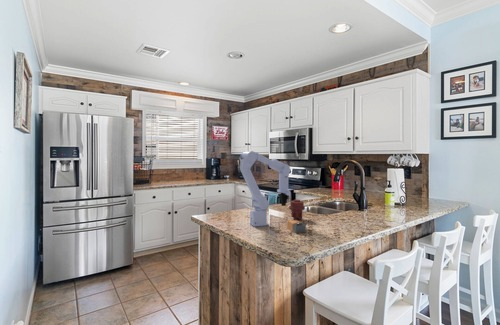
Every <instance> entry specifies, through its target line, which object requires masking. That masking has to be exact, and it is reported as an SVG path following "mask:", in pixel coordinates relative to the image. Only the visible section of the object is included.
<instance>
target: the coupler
mask: <svg viewBox="0 0 500 325" xmlns="http://www.w3.org/2000/svg"><path fill="white" fill-rule="evenodd" d="M301 222H302V221H300V222H297V223H296V224H293V231H292V232H293V233H295V234H302V233H306V232H307V230H306V229H307V225H306V224H305V223H304V222H302V223H301Z"/></svg>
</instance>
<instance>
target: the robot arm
mask: <svg viewBox="0 0 500 325" xmlns="http://www.w3.org/2000/svg"><path fill="white" fill-rule="evenodd" d="M238 159H239V161H240V163H239V170H240V172H241V174H242V177H243V179H244V181H245V183H246V185H247V187H248V190H249V191H250V194H251V200H252V206H253V207H254V208H253V209H252V210H251V209H250V213H249V224H250V225H251V226H253V227H254V228H255V227H266V226H270V224H269V223H268V222H267V221H268V220H267V219H268V217H267V215H268V213H267V212H268V208H269V207H270V206H269V205H270V202H269V200H268V199H267V198H266V197H265V195H263V193H261V190H260V188H259V186H258V183H257V182H256V179H255V177H254V174H253V173H252V170H251V168H252V166H254V164H255V162H261V163H263V164H265V165H267V166H268V167H269V168H270V169H272V170H274V171H276V172H278V180H279V181H278V189H276V192H277V193H278V197H279V200H280V205H281V206H283V207H284V206H287V202H288V199H289V197H290V196H291V194H292V192H291V190H289V175H290V172H291V167H290V165H289V164H287V163H284V162H283V161H279V160H278V159H277V158H272V159H270V158H268V157H266V156H264V155H262V154H260V153H258V152H255V151H253V150H252V151H245V150H244V151H243V152H242V153H240V156H239V158H238Z"/></svg>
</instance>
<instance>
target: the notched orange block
mask: <svg viewBox="0 0 500 325" xmlns="http://www.w3.org/2000/svg"><path fill="white" fill-rule="evenodd" d="M286 222H287V224H286V225H287V226H286V227H287V230H290V231H291V232H293V224H296V223H297V222H301V223H303V222H302V221H300V220H294V219H292V220H287V221H286Z"/></svg>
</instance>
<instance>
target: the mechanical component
mask: <svg viewBox="0 0 500 325" xmlns="http://www.w3.org/2000/svg"><path fill="white" fill-rule="evenodd" d="M289 202H290V205H289V206H288V209H289V210H291V214H290V217H292V218H293V220H298V221H300V220H303V211H304V210H306V206H305V205H304V204H305V202H304V201H302V200H300V199H294V200H290V201H289Z"/></svg>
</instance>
